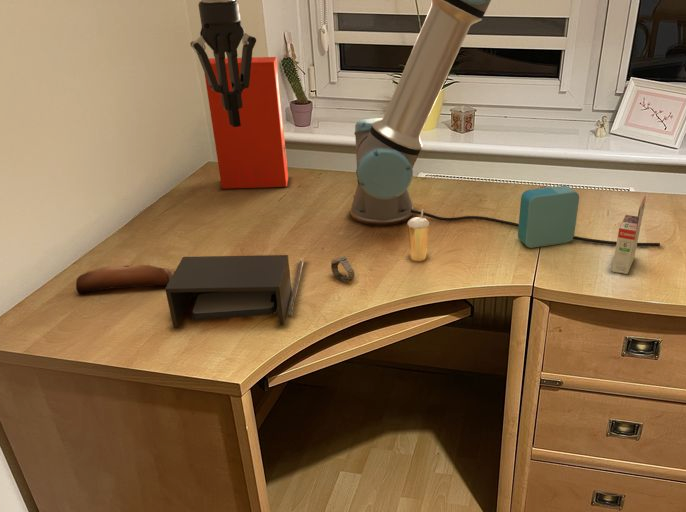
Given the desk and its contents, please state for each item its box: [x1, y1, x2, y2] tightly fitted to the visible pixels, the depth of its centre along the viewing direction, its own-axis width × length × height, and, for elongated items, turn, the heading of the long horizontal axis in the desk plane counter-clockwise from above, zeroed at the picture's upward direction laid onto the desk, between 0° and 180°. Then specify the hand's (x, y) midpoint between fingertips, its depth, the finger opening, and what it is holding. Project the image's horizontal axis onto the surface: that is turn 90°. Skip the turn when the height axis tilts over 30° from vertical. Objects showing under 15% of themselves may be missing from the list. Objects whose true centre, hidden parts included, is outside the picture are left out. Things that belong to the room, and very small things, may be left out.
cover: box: [164, 254, 293, 328], centre depth 132 cm, size 20×13×8 cm, turn 91°
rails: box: [287, 260, 305, 318], centre depth 141 cm, size 22×23×1 cm
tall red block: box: [203, 56, 289, 190], centre depth 185 cm, size 8×17×32 cm, turn 94°
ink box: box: [610, 194, 647, 275], centre depth 145 cm, size 4×8×15 cm, turn 156°
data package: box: [517, 185, 580, 249], centre depth 156 cm, size 12×4×12 cm, turn 107°
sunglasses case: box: [75, 264, 175, 294], centre depth 143 cm, size 18×7×7 cm, turn 99°
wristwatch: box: [330, 255, 356, 283], centre depth 143 cm, size 4×6×5 cm, turn 41°
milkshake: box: [406, 209, 430, 262], centre depth 151 cm, size 5×5×10 cm
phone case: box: [189, 291, 278, 321], centre depth 135 cm, size 9×2×16 cm
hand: (235, 125), depth 147 cm, fingers closed
